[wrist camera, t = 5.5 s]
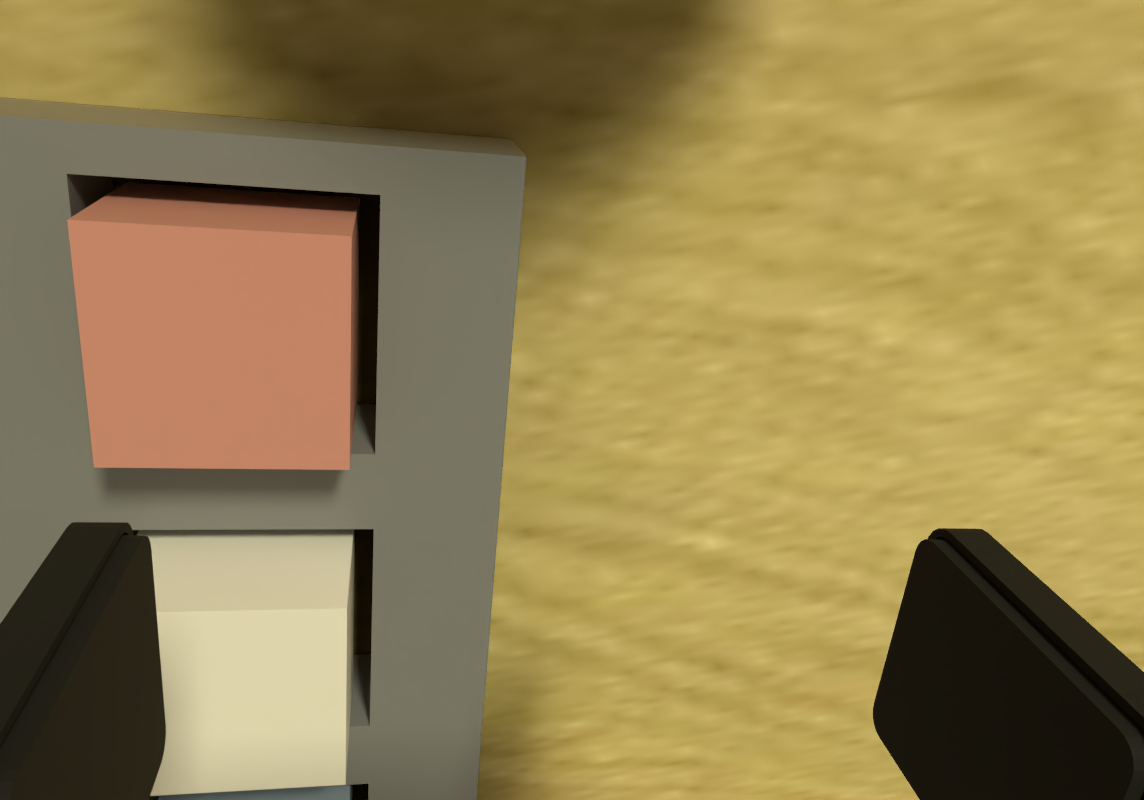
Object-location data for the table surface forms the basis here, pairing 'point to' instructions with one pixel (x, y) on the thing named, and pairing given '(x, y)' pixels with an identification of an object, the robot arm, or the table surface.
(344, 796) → the slate-blue key
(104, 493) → the keypad base
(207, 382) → the brick-red key
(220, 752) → the off-white key
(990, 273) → the table surface
